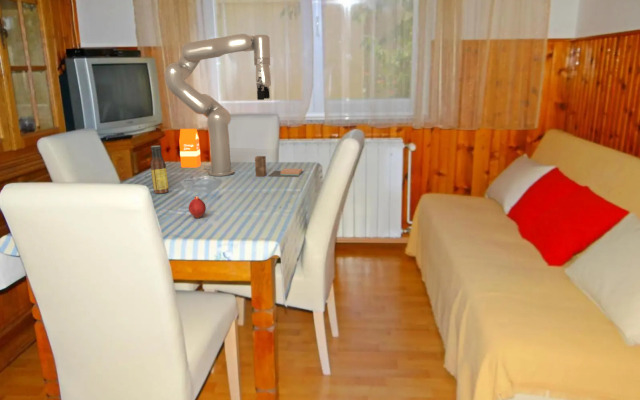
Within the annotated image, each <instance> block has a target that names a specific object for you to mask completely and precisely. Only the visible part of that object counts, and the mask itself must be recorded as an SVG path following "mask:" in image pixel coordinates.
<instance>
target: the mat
mask: <svg viewBox="0 0 640 400" xmlns="http://www.w3.org/2000/svg"><path fill="white" fill-rule="evenodd" d="M281 171H282V170H274V171H272V172H271V173H270V174H269V175H268V177H275V178H278V177H279V178H282V177H283V178H299V177H300V176H301V175H302V174H303V173H304V170H302V173H301V174H300V175H281Z"/></svg>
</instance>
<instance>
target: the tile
mask: <svg viewBox="0 0 640 400" xmlns="http://www.w3.org/2000/svg"><path fill="white" fill-rule="evenodd" d="M280 171H281V175H300V174H301V173H302V171H303V168H283V169H282V170H280ZM302 174H303V173H302ZM302 174H301V175H302ZM301 175H300V176H301Z"/></svg>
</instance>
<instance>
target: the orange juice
mask: <svg viewBox="0 0 640 400" xmlns="http://www.w3.org/2000/svg"><path fill="white" fill-rule="evenodd" d="M179 130H180V131H179V140H178V142H179V143H178V144H179V156H180V166H181V168H199V167H200V166H201V165H202V163H201V146H200V145H201V144H200V137H199V133H198V130H197V128H180V129H179Z"/></svg>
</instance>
